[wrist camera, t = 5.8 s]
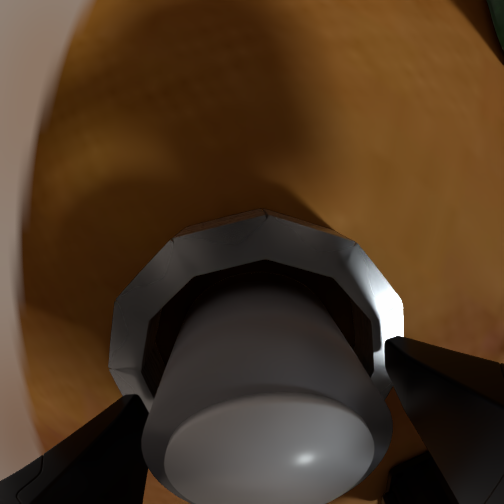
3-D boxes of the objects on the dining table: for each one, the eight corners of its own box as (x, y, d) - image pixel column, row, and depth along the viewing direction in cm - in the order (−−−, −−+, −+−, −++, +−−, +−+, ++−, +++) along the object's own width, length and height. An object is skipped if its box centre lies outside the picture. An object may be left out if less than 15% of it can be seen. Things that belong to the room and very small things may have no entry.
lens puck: (319, 254, 9) (403, 337, 4) (339, 382, 10) (389, 494, 5) (160, 292, 9) (89, 400, 4) (207, 411, 10) (193, 531, 5)
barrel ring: (362, 185, 9) (389, 187, 7) (382, 401, 11) (399, 429, 9) (94, 252, 9) (67, 268, 7) (181, 445, 11) (175, 477, 9)
